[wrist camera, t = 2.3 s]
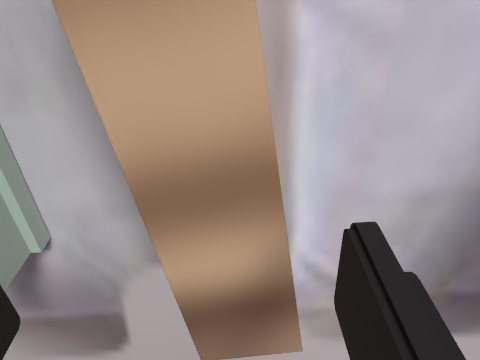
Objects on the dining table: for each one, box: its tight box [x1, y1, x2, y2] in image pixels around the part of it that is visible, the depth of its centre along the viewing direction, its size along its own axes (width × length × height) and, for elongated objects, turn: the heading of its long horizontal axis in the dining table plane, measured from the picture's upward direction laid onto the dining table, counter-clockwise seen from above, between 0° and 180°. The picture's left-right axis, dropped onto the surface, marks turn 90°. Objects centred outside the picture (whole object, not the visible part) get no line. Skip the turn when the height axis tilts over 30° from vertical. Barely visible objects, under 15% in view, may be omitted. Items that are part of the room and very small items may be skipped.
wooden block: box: [52, 0, 302, 360], centre depth 15 cm, size 20×5×6 cm, turn 10°
